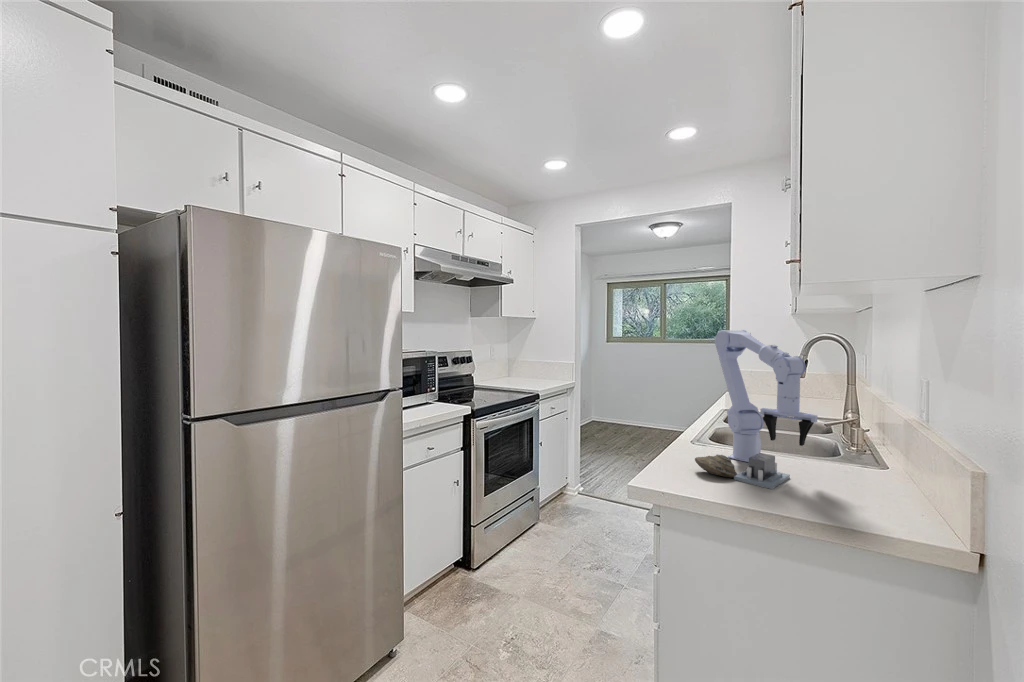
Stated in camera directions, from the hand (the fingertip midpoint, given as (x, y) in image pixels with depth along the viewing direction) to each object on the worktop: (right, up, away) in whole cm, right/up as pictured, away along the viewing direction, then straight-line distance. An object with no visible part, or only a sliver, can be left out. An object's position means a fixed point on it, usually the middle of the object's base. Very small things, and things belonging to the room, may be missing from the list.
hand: (787, 442), depth 132 cm
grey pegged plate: (-9, -10, -3) cm, 14 cm away
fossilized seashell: (-21, -10, +2) cm, 23 cm away
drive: (-9, -9, -3) cm, 13 cm away
